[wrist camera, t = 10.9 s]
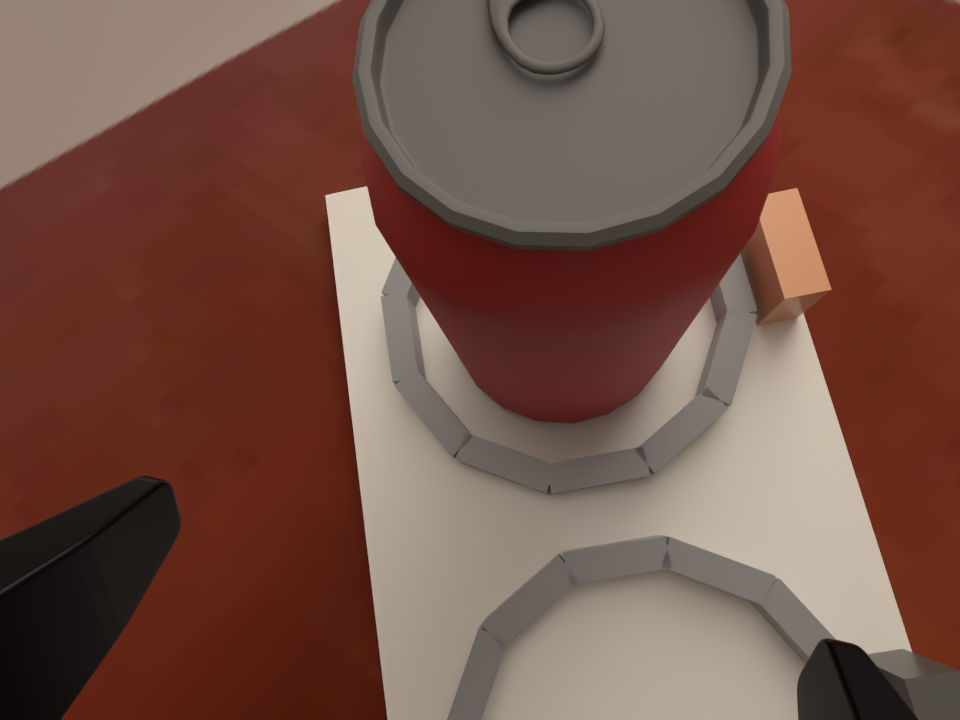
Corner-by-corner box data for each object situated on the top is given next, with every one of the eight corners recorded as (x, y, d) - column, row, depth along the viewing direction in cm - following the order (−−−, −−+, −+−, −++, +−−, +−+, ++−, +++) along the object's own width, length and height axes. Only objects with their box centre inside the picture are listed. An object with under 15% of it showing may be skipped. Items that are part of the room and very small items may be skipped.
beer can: (611, 192, 20) (682, -235, 9) (708, 373, 19) (957, 141, 7) (425, 273, 20) (251, -42, 9) (504, 461, 19) (416, 375, 7)
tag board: (997, 968, 15) (1110, 1084, 12) (433, 1033, 16) (404, 1156, 13) (730, 119, 21) (759, 53, 18) (333, 206, 22) (297, 156, 19)
